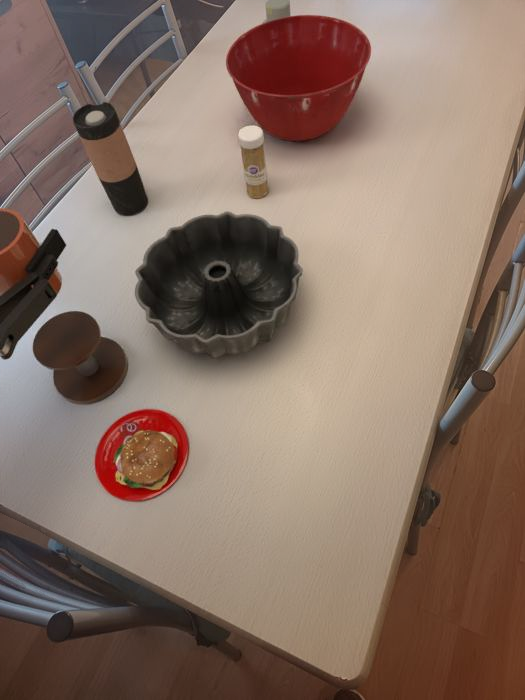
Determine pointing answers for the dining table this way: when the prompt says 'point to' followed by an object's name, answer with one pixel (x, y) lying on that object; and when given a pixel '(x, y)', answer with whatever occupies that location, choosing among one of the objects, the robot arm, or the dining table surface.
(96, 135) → the travel mug
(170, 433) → the hamburger
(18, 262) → the tumbler
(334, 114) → the mixing bowl
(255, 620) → the dining table surface
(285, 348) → the dining table surface
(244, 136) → the sprinkles bottle
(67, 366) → the wooden pedestal stand
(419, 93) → the dining table surface
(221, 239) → the bundt pan
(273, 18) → the air freshener
